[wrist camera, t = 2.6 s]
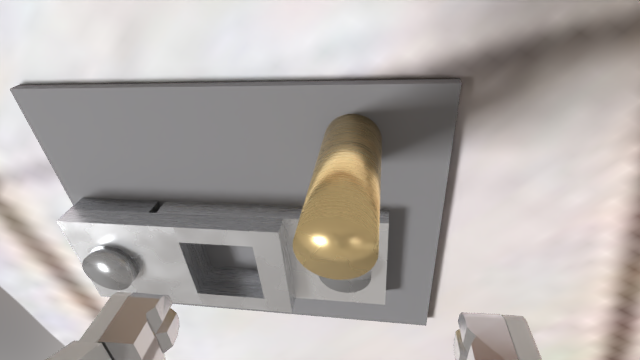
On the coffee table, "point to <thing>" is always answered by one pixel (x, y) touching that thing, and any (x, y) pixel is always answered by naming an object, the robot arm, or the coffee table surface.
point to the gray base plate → (258, 158)
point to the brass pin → (343, 202)
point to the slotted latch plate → (192, 259)
